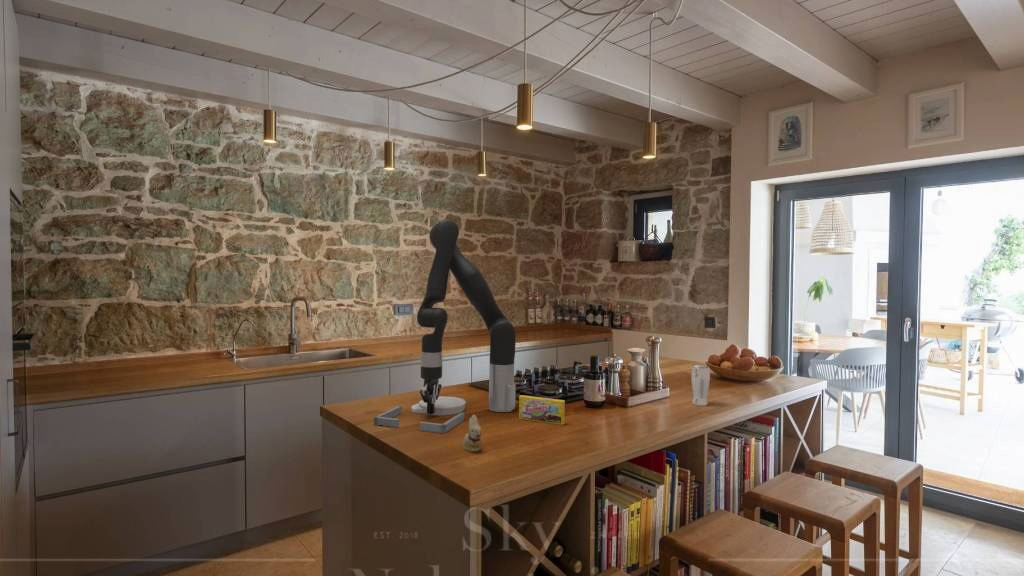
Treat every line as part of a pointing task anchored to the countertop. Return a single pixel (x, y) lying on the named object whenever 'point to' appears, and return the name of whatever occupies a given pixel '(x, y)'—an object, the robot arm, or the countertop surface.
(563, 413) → the candy box
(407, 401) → the countertop surface
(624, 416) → the countertop surface
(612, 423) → the countertop surface
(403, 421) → the countertop surface
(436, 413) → the lid
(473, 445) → the chocolate bunny
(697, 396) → the beer glass
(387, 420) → the lid holder
